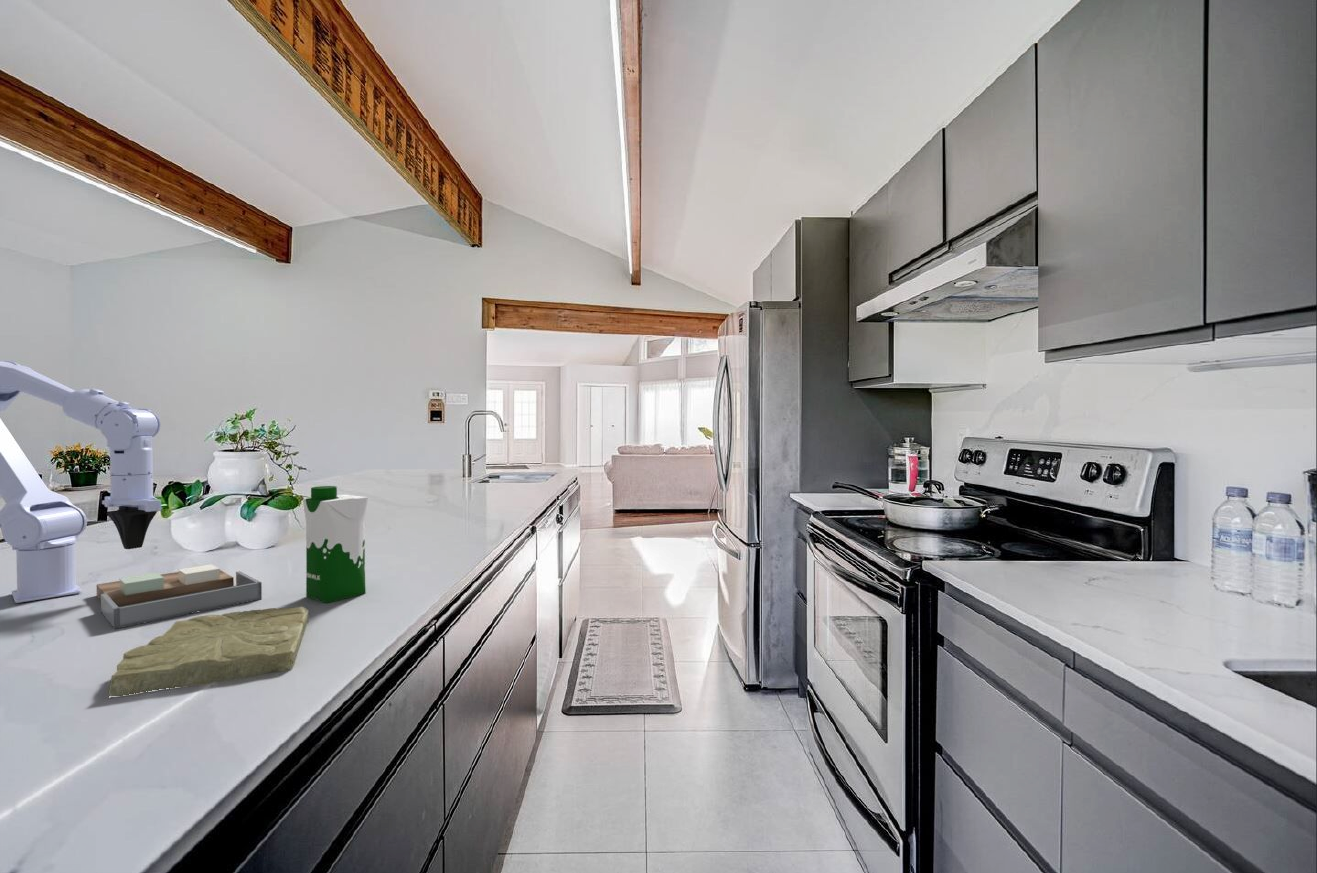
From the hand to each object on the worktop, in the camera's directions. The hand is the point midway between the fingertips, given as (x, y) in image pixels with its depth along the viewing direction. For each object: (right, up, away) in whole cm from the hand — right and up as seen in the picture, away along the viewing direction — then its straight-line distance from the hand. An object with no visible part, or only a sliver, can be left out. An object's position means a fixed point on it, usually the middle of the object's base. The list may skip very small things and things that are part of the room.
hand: (133, 548), depth 103 cm
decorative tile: (+37, -10, -27) cm, 47 cm away
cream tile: (+11, -6, +2) cm, 12 cm away
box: (+15, -9, -7) cm, 19 cm away
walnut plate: (+6, -8, +1) cm, 10 cm away
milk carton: (+38, -9, 0) cm, 39 cm away
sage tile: (+6, -6, -5) cm, 10 cm away
